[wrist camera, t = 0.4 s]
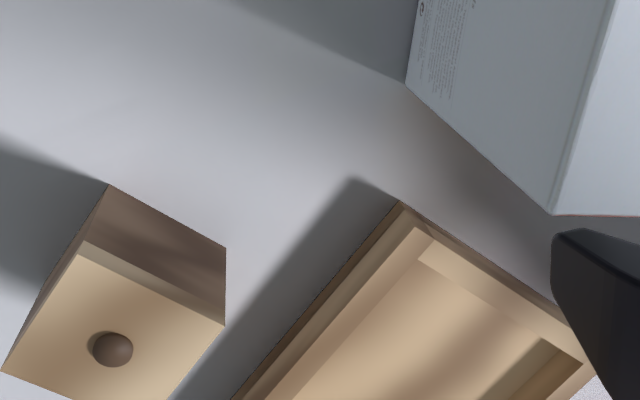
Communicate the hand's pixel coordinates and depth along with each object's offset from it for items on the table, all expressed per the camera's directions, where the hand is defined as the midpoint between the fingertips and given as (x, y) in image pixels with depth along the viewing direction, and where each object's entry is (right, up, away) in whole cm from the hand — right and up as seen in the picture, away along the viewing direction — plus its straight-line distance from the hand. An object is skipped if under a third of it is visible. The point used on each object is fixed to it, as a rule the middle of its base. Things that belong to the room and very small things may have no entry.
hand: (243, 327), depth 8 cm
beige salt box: (-6, -1, +15) cm, 16 cm away
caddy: (+2, -10, +20) cm, 23 cm away
